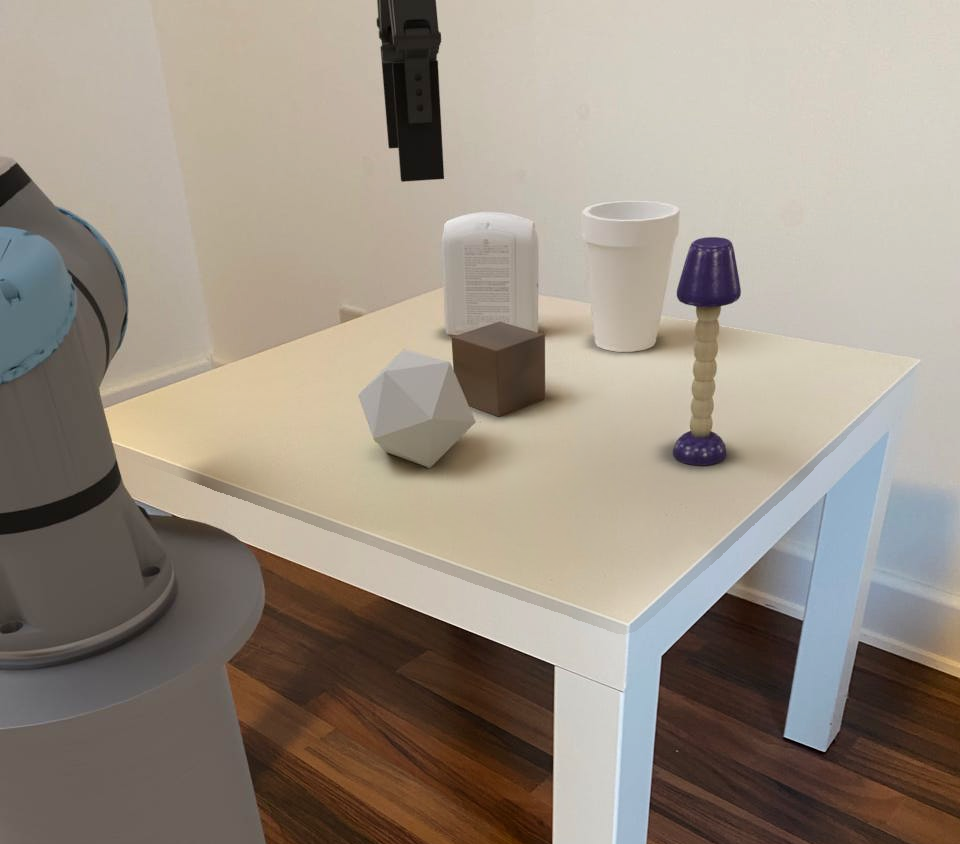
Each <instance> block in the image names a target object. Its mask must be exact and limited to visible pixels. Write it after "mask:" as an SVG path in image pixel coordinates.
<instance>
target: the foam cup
mask: <svg viewBox="0 0 960 844" xmlns="http://www.w3.org/2000/svg"><path fill="white" fill-rule="evenodd" d="M680 211H681V210H680V208H679V207H677V206H676V205H675V204H671V203H667V202H662V201H654V200H641V199H640V200H615V201H614V200H613V201H607V202H600V203H596V204H592V205H589V206H586V207H585V208H583V210H581V233H580V235H581V238H582V239H583V247H584V253H585V263H586V264H585V265H586V273H587V283H588V291H589V292H588V293H589V301H590V310H591V319H592V321H591V322H592V330H593V337H594V343H595V346H597V347H598V348H600V349H603V350H606V351H611V352H618V353H633V352H640V351H645V350H648V349H650V348H652V347H654V345H655V344H656V342H657V337H658V333H659V328H660V324H661V323H660V322H661V319H662V318H661V317H662V312H663V307H664V302H665V295H666V290H667V285H668V280H669V275H670V269H671V264H672V258H673V254H674V253H673V252H674V249H675V244H676V239H677V237H678V236H679V227H680Z"/></svg>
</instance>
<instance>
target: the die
mask: <svg viewBox="0 0 960 844" xmlns="http://www.w3.org/2000/svg"><path fill="white" fill-rule="evenodd" d="M357 396H358V399H359V402H360V405H361V408H362V411H363V414H364V417H365V419H366V423H367V425H368V428H369V431H370V434H371V436H372V440H373V441H375V443H377V445H378V446H379V448H381V449H382V450H383V451H384V452H385V453H386V454H390V455H392V456H395V457H398V458H401V459H404V460H406V461H409V462H411V463H413V464H417V465H420V466H423V467H425V468H427V469H430V468H431V467H432V466H433V465H434V464H436V463H437V462H438V461H439V460H440V459H441V458H442V457H443V456H444V455H445V454H446V453H447V452H448V451H449V450H450V449H451V448H452V447H453V446H454V445H455V444H456V443H457V442H458V440H460V439H461V438H462V437H463V436H464V435H465V434H466V433H467V432H468V431H469V430H470V429H471V428H472V427H473V426H474V425H475V424H476V423H477V422H476V419H475V417H474V415H473V412H472V410H471V408H470V407H471V406H469V405H468V403H467V401H466V398H465V396H464V394H463V391H462V389H461V387H460V384H459V382H458V380H457V377H456V375H455V373H454V370H453V365H452V363H451V361H448V360H445V359H441V358H437V357H432V356H430V355H426V354H422V353H419V352H415V351H413V350H412V351H411V350H408V349H405V348H403V349H402V350H401V351H400V352H399V353H398V354H397V355H396V356H395V357H394V358H393V359H392V360H391V361H390V362H389V363H388V364H387V365H386V366H384V368H383V369H382V370H381V371H380V372H379V373H378V374H377V375H376V376H375V377H374V378H373V379H372V380H371V381H370V382H369V383H368V384H367V385H366V386H365V387H364V388H363V389H362V390H361V391H360V392H359V393H358V394H357Z"/></svg>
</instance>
